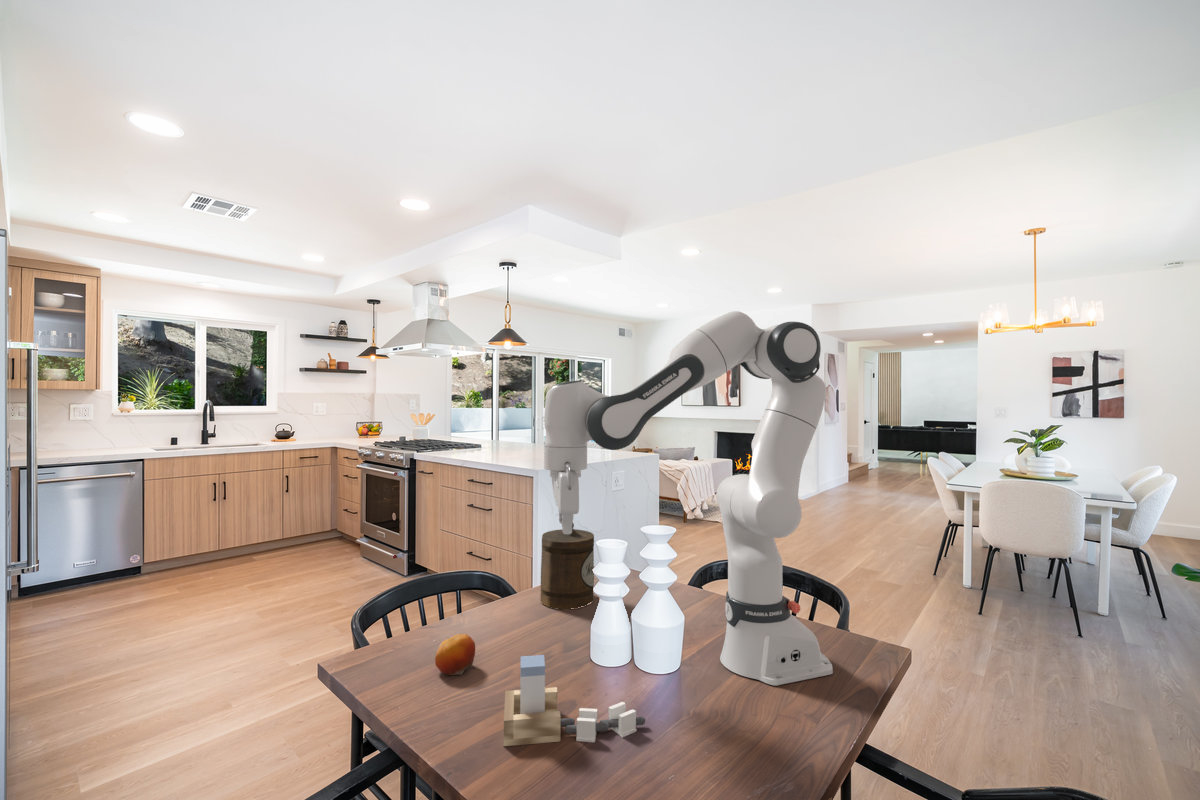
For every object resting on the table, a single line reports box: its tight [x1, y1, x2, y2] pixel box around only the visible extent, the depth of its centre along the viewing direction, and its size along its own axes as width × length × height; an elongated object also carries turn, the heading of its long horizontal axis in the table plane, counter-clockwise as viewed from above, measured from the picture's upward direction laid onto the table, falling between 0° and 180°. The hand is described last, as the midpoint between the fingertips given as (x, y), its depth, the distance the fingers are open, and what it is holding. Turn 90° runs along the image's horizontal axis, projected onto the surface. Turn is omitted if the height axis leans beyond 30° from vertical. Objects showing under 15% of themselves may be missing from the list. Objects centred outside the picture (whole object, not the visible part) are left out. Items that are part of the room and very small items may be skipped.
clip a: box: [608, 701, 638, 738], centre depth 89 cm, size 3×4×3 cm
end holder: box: [503, 686, 562, 747], centre depth 90 cm, size 9×9×4 cm
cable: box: [560, 716, 646, 735], centre depth 89 cm, size 16×3×1 cm, turn 98°
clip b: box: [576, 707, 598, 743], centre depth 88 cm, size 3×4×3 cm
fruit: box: [434, 633, 476, 676], centre depth 109 cm, size 8×8×8 cm
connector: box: [519, 654, 546, 714], centre depth 90 cm, size 4×4×10 cm
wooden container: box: [540, 522, 595, 610], centre depth 149 cm, size 15×15×22 cm
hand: (565, 528), depth 109 cm, fingers open, 8 cm apart
